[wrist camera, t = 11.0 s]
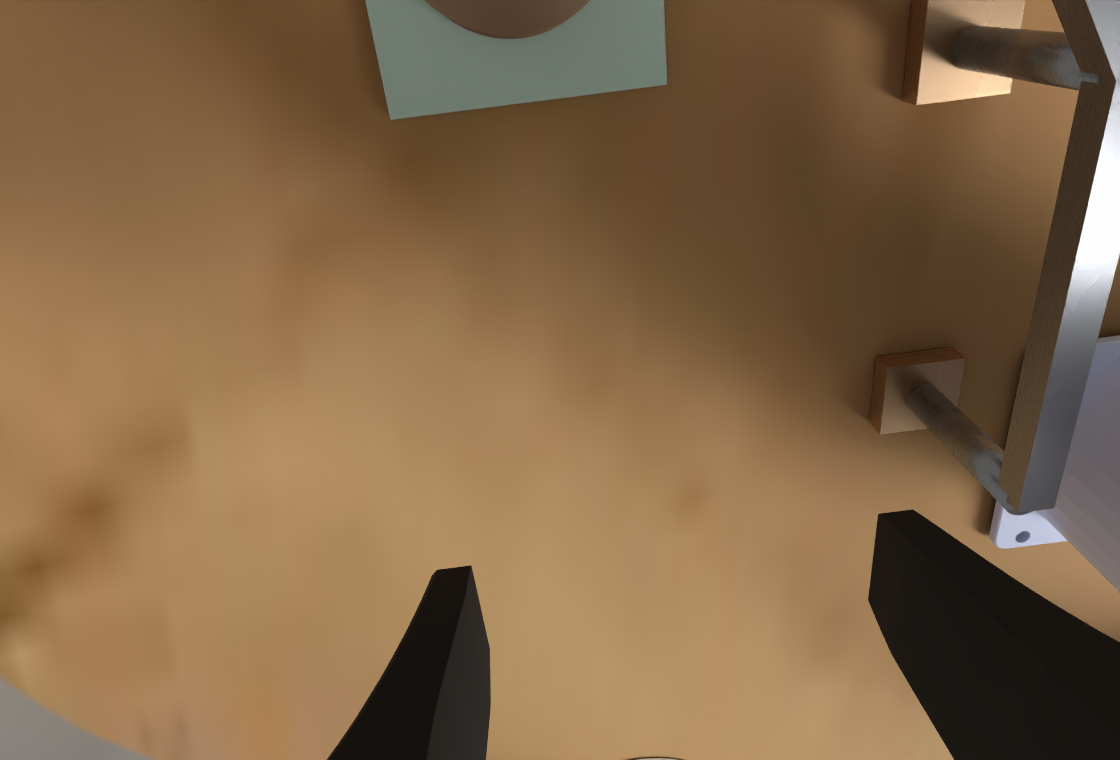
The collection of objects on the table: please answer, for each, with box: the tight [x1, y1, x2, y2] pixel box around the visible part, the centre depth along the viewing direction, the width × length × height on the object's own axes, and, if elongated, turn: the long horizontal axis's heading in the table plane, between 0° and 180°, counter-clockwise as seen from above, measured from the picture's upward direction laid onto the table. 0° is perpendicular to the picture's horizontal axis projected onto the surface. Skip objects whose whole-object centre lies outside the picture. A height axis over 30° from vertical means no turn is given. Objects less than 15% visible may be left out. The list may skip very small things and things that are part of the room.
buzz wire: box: [869, 0, 1120, 515], centre depth 17 cm, size 7×20×6 cm, turn 6°
